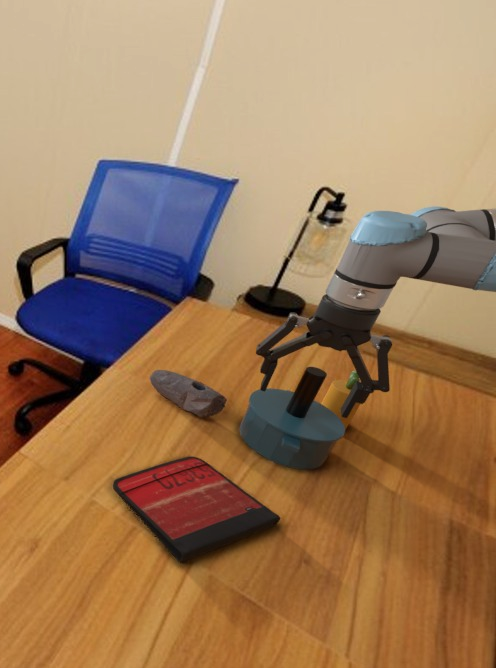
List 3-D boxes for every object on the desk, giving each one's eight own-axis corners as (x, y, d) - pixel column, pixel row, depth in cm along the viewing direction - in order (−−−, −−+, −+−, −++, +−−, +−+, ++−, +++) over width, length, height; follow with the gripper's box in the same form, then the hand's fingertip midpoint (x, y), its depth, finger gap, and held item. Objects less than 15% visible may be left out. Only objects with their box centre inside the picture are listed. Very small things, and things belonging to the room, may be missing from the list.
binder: (281, 516, 84) (184, 555, 78) (277, 526, 85) (180, 565, 79) (196, 450, 98) (107, 479, 92) (193, 459, 99) (105, 488, 93)
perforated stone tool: (140, 388, 117) (148, 363, 114) (154, 381, 119) (162, 357, 116) (206, 428, 105) (217, 402, 102) (221, 419, 107) (232, 394, 104)
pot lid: (341, 412, 99) (366, 366, 94) (344, 457, 89) (373, 409, 84) (250, 383, 107) (269, 340, 102) (244, 421, 97) (265, 375, 92)
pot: (323, 431, 104) (338, 403, 101) (324, 491, 91) (342, 461, 88) (243, 403, 112) (255, 376, 108) (234, 455, 99) (247, 427, 95)
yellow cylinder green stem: (346, 419, 107) (374, 369, 101) (347, 433, 103) (377, 383, 97) (314, 409, 110) (340, 360, 104) (314, 422, 106) (341, 372, 100)
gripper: (265, 289, 90) (225, 385, 100) (457, 334, 77) (389, 439, 87) (267, 274, 95) (229, 367, 105) (448, 313, 82) (385, 415, 92)
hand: (301, 400), depth 96 cm, fingers open, 11 cm apart
